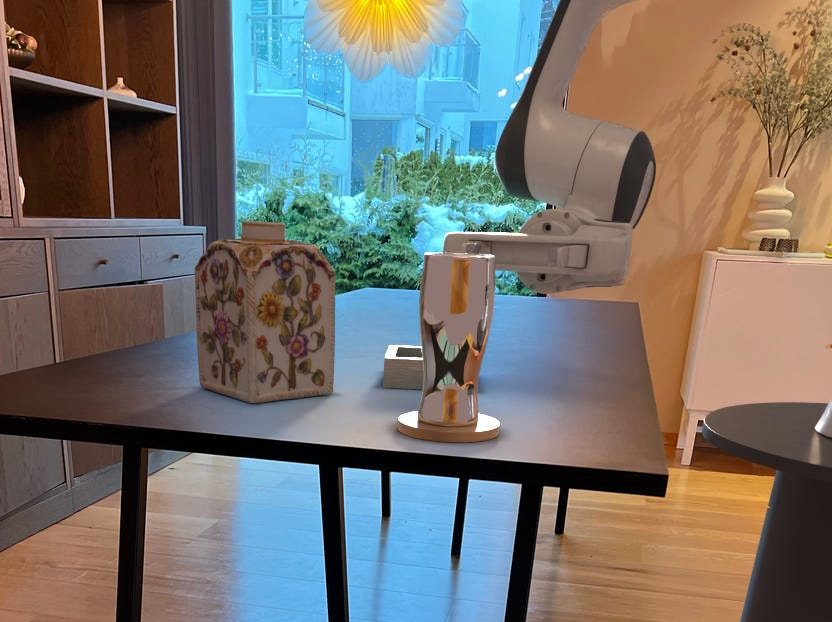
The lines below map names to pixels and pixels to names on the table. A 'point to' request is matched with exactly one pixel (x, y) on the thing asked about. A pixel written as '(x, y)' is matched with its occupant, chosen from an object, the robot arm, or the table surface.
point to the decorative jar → (265, 316)
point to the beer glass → (454, 334)
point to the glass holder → (403, 367)
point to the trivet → (448, 429)
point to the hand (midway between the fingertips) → (510, 254)
